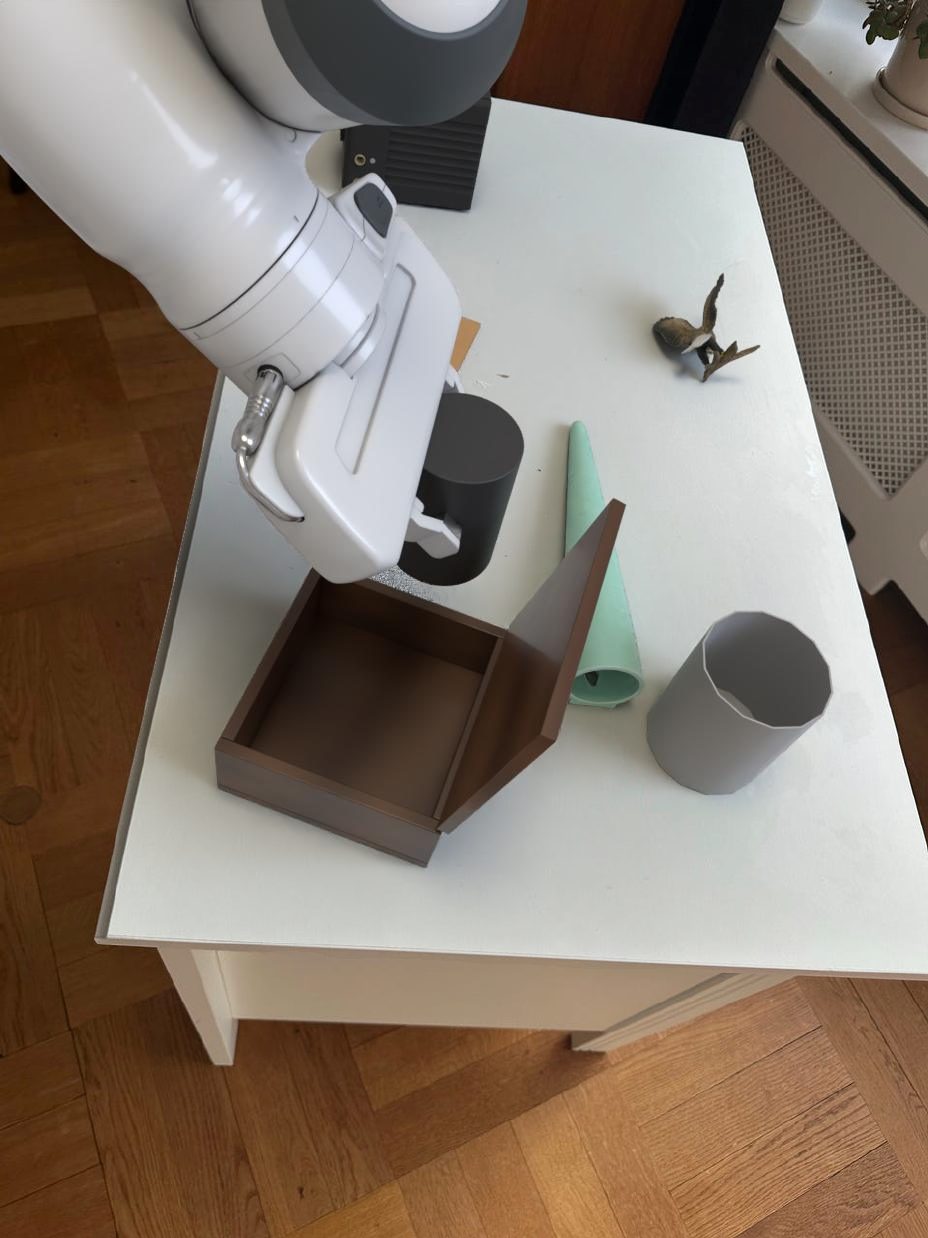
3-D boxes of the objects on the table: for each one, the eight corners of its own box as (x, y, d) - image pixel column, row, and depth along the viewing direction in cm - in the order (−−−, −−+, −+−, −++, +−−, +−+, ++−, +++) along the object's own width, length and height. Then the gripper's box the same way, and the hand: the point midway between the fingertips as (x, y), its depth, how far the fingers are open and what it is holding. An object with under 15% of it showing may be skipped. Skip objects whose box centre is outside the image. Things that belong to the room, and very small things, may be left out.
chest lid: (540, 734, 40) (556, 741, 40) (613, 496, 48) (626, 504, 48) (436, 829, 52) (448, 835, 52) (509, 625, 60) (520, 630, 60)
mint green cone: (626, 385, 76) (656, 672, 61) (605, 433, 80) (629, 711, 65) (561, 375, 75) (576, 663, 60) (544, 424, 80) (554, 703, 65)
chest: (217, 788, 57) (213, 748, 52) (312, 606, 65) (316, 557, 61) (426, 868, 57) (441, 835, 52) (494, 675, 65) (513, 631, 60)
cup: (734, 818, 62) (806, 755, 54) (627, 750, 64) (681, 679, 56) (777, 726, 67) (849, 656, 59) (676, 665, 68) (733, 587, 60)
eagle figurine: (761, 368, 87) (725, 290, 90) (760, 329, 80) (721, 247, 83) (683, 402, 89) (649, 325, 91) (675, 367, 82) (639, 285, 85)
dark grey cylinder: (375, 572, 54) (390, 466, 46) (397, 490, 57) (414, 379, 50) (484, 597, 54) (516, 495, 47) (499, 514, 58) (531, 407, 50)
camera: (335, 135, 97) (345, -26, 85) (467, 153, 100) (496, 0, 87) (333, 198, 91) (345, 35, 79) (474, 215, 94) (506, 61, 81)
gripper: (274, 440, 36) (480, 632, 44) (385, 154, 47) (532, 350, 56) (170, 490, 39) (380, 660, 48) (297, 213, 51) (448, 389, 59)
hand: (462, 491), depth 52 cm, fingers closed on dark grey cylinder, 6 cm apart
